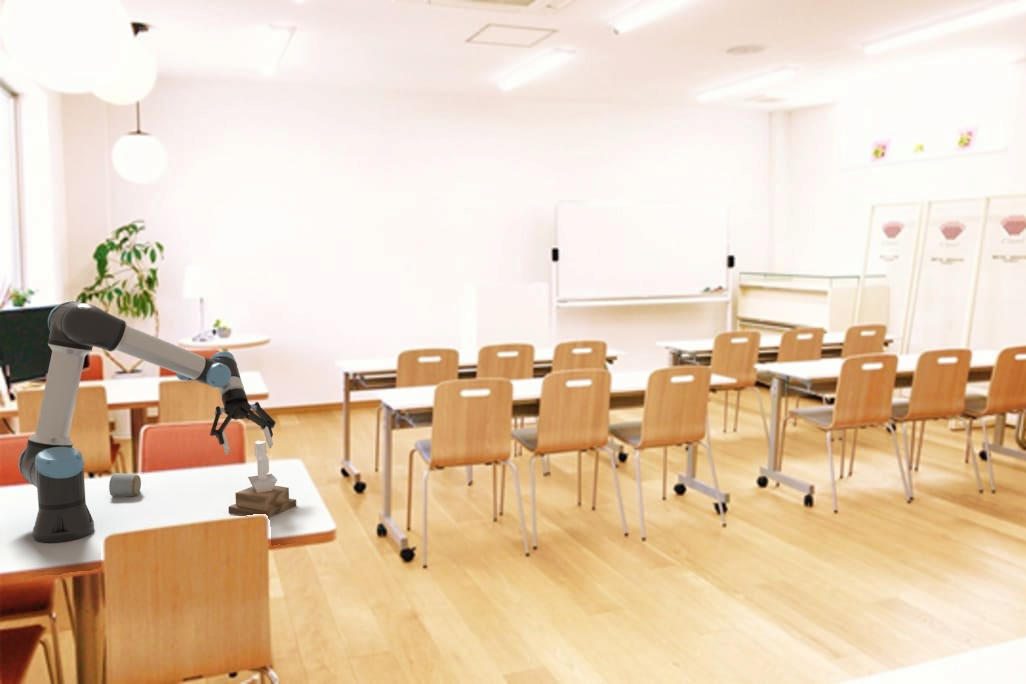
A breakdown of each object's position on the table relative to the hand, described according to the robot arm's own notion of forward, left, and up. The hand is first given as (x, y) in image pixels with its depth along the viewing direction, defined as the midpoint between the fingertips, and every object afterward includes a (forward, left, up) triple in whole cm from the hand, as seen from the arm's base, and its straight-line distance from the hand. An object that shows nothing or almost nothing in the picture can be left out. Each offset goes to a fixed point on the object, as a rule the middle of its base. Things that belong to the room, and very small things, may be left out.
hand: (249, 449), depth 267 cm
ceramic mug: (-12, +41, -17) cm, 46 cm away
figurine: (-5, -9, -11) cm, 15 cm away
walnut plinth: (-5, -9, -17) cm, 20 cm away
